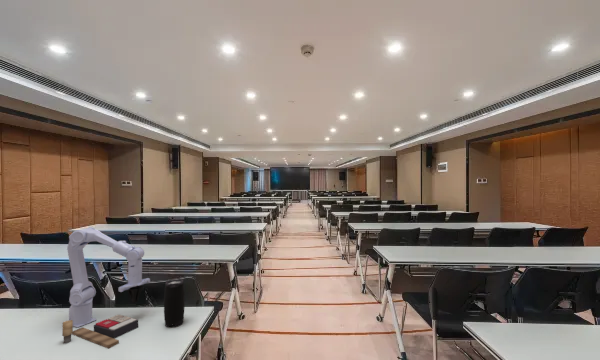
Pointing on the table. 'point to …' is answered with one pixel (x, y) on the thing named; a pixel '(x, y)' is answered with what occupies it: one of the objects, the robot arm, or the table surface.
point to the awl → (67, 330)
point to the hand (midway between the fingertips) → (134, 301)
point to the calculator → (116, 326)
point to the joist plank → (96, 337)
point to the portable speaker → (174, 302)
